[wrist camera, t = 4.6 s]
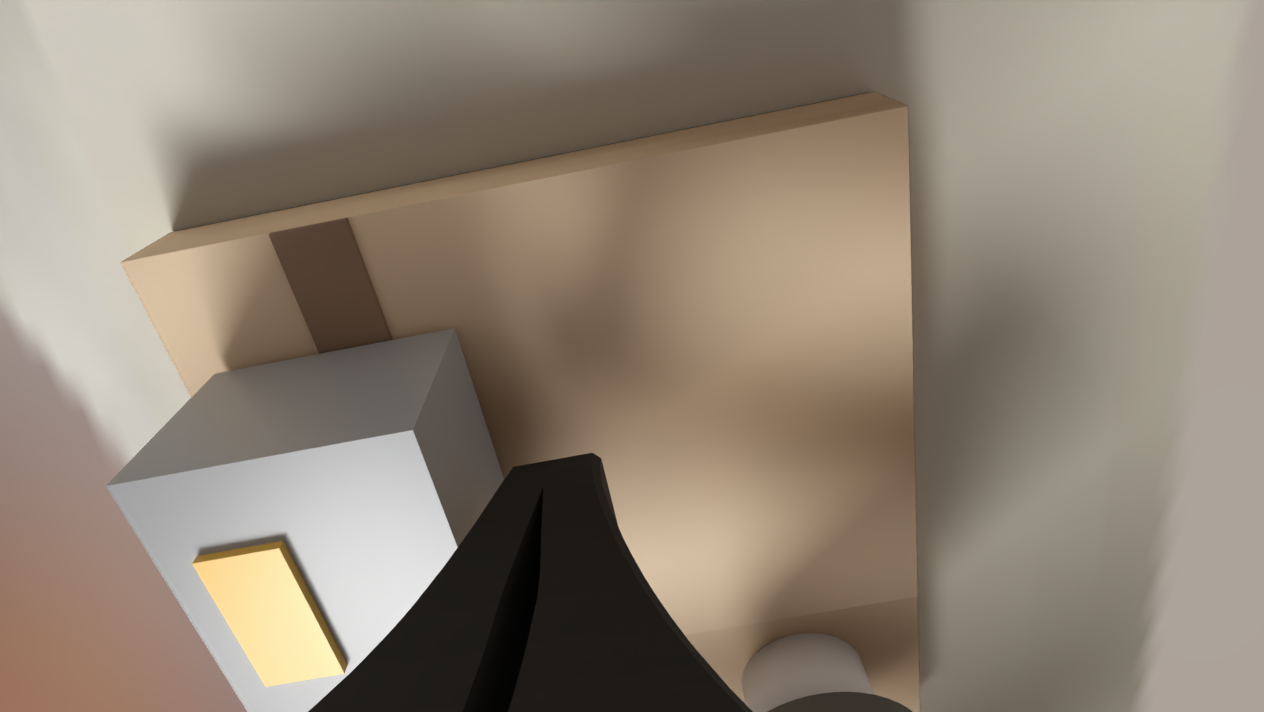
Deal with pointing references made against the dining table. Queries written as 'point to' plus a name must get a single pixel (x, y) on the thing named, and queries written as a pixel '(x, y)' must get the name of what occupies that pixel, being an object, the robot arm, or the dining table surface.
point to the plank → (642, 349)
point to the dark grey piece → (811, 678)
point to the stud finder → (312, 506)
